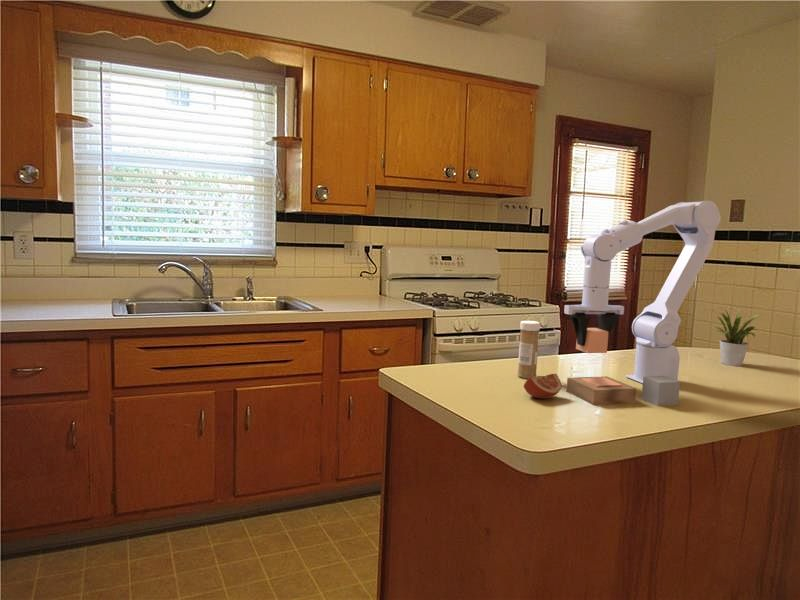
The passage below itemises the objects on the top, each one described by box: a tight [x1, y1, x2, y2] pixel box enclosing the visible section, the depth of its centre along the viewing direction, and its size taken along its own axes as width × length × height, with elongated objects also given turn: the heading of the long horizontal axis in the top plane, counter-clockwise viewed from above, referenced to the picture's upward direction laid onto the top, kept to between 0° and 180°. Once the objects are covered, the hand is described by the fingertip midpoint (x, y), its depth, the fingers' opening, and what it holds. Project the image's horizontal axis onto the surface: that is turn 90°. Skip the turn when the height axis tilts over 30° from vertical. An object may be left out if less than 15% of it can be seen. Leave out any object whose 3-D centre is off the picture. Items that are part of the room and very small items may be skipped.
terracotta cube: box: [575, 327, 609, 354], centre depth 137 cm, size 5×5×5 cm
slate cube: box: [641, 376, 681, 407], centre depth 123 cm, size 5×5×5 cm
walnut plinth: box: [565, 375, 637, 406], centre depth 125 cm, size 10×10×4 cm
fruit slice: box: [523, 373, 563, 399], centre depth 123 cm, size 8×7×5 cm
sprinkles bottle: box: [517, 320, 541, 380], centre depth 140 cm, size 5×5×14 cm
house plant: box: [706, 306, 761, 367], centre depth 165 cm, size 14×14×16 cm
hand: (591, 344), depth 137 cm, fingers closed on terracotta cube, 5 cm apart
